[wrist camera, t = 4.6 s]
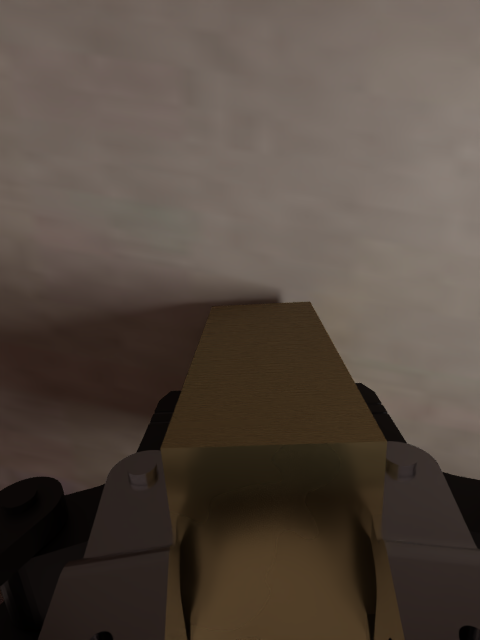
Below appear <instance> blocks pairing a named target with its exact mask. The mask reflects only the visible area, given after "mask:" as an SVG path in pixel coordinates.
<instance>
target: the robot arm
mask: <svg viewBox="0 0 480 640" xmlns="http://www.w3.org/2000/svg"><path fill="white" fill-rule="evenodd" d="M355 384H356V386H357V388H358V390H359V391H360V393H361V395H362V397H363V399H364V400H365V402H366V404H367V406H368V408H369V410H370V411H371V413H372V415H373V417H374V419H375V420H376V422H377V424H378V426H379V428H380V429H381V431H382V433H383V435H384V437H385V439H386V440H387V451H386V465H385V480H384V494H383V508H382V515H372V527H371V544H372V550H373V556H374V563H375V571H376V586H377V595H376V609H375V614H367V621H366V640H480V480H476V479H471V478H465V477H460V476H455V475H451V474H448V473H444V472H442V470H441V468H440V466H439V464H438V463H437V461H436V460H435V459H434V458H433V457H432V456H431V455H430V454H428V453H427V452H425V451H424V450H422V449H420V448H418V447H416V446H413V445H410V444H407V443H406V441H405V439H404V438H403V436H402V435H401V433H400V432H399V430H398V428H397V427H396V425H395V424H394V422H393V420H392V419H391V417H390V416H389V414H387V411H386V409H385V408H384V406H383V405H381V401H380V400H379V398H378V397H377V395H376V394H375V392H374V391H372V390H371V389H369V388H368V387H366V386H365V385H363V384H362V383H355ZM180 394H181V391H171V392H169V393H168V394H167V395H166V396H165V397H164V398H162V399H161V400H160V401H159V403H158V405H157V408H156V410H155V414H153V417H152V419H151V421H150V424H149V426H148V428H147V430H146V432H145V434H144V437H143V439H142V441H141V443H140V446H139V448H138V450H137V452H136V453H134V454H132V455H129V456H128V457H126V458H124V459H122V460H121V461H119V462H118V463H117V464H116V465H115V466H114V467H113V468H112V469H111V470H110V472H109V474H108V476H107V479H106V482H105V484H103V485H101V486H98V487H94V488H91V489H87V490H83V491H80V492H76V493H72V494H68V495H64V492H63V488H62V485H61V483H60V482H59V481H58V480H56V479H54V478H51V477H33V478H29V479H25V480H22V481H19V482H16V483H14V484H12V485H10V486H8V487H6V488H4V489H3V490H1V491H0V589H1V592H2V595H3V598H4V602H3V603H2V604H1V605H0V640H193V631H192V624H191V617H185V616H184V609H183V602H182V595H181V588H180V570H179V567H180V541H179V534H178V527H177V520H171V518H170V511H169V504H168V497H167V490H166V483H165V476H164V469H163V462H162V455H161V446H162V443H163V440H164V438H165V435H166V432H167V429H168V427H169V424H170V421H171V418H172V416H173V413H174V410H175V407H176V405H177V402H178V399H179V396H180Z"/></svg>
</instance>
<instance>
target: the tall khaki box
mask: <svg viewBox="0 0 480 640" xmlns="http://www.w3.org/2000/svg"><path fill="white" fill-rule="evenodd" d="M386 451H387V440H386V439H385V437H384V435H383V433H382V431H381V429H380V428H379V426H378V424H377V422H376V420H375V419H374V417H373V415H372V413H371V411H370V410H369V408H368V406H367V404H366V402H365V400H364V399H363V397H362V395H361V393H360V391H359V390H358V388H357V386H356V384H355V382H354V380H353V379H352V377H351V375H350V373H349V371H348V370H347V368H346V366H345V364H344V362H343V361H342V359H341V357H340V355H339V353H338V351H337V350H336V348H335V346H334V344H333V342H332V341H331V339H330V337H329V335H328V333H327V332H326V330H325V328H324V326H323V324H322V322H321V321H320V319H319V317H318V315H317V313H316V312H315V310H314V308H313V306H312V304H311V302H293V303H272V304H251V305H230V306H212V308H211V311H210V314H209V317H208V319H207V322H206V325H205V328H204V330H203V333H202V336H201V339H200V341H199V344H198V347H197V350H196V352H195V355H194V358H193V361H192V363H191V366H190V369H189V372H188V374H187V377H186V380H185V383H184V385H183V388H182V391H181V394H180V396H179V399H178V402H177V405H176V407H175V410H174V413H173V416H172V418H171V421H170V424H169V427H168V429H167V432H166V435H165V438H164V440H163V443H162V446H161V455H162V462H163V469H164V476H165V483H166V490H167V497H168V504H169V511H170V518H171V520H177V527H178V534H179V541H180V567H179V570H180V588H181V595H182V602H183V609H184V616H185V617H191V624H192V631H193V640H366V621H367V614H375V609H376V595H377V586H376V571H375V563H374V556H373V550H372V544H371V527H372V515H382V508H383V494H384V480H385V465H386Z"/></svg>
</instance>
